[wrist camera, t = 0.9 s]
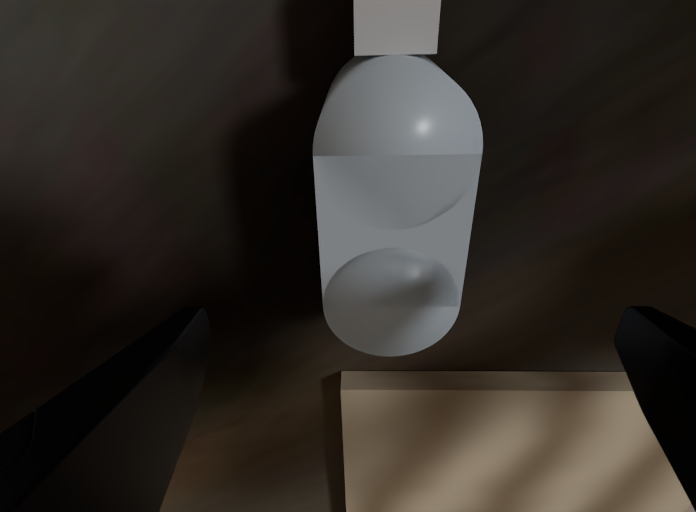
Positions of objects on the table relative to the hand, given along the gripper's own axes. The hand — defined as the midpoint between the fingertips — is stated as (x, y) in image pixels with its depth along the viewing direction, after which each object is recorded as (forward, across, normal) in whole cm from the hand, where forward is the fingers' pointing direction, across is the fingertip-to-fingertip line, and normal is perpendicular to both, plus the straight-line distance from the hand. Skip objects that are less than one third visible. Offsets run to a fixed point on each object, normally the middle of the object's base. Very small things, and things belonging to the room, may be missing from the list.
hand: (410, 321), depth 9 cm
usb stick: (+8, 0, -1) cm, 8 cm away
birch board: (+8, -8, +20) cm, 23 cm away
